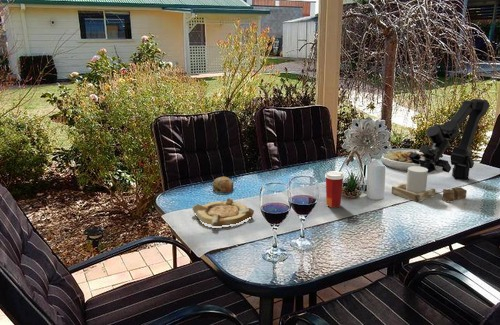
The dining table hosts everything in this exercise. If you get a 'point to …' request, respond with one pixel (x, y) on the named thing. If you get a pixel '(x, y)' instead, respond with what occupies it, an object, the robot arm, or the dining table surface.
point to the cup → (416, 179)
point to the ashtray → (222, 212)
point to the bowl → (399, 158)
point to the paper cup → (334, 188)
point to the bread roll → (222, 184)
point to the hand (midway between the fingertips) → (419, 176)
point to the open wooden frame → (402, 192)
